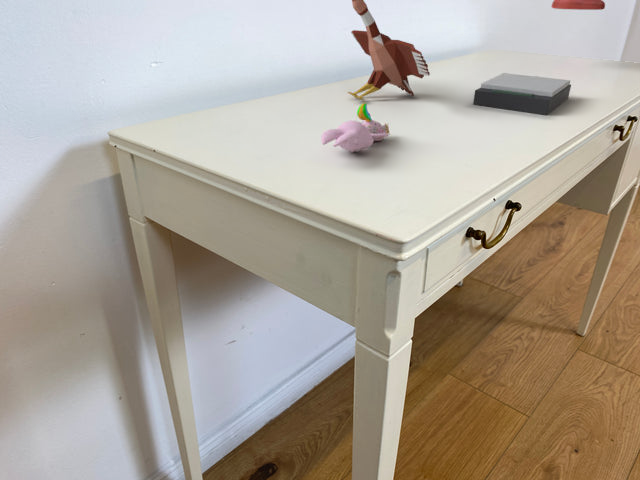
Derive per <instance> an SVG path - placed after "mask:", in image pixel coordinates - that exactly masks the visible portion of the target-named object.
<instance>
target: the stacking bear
mask: <svg viewBox="0 0 640 480" xmlns="http://www.w3.org/2000/svg"><path fill="white" fill-rule="evenodd" d="M551 9H555V10H574V11H575V10H576V11H577V10H579V11H580V10H581V11H592V10H593V11H597V10H600V11H601V10H605V9H606V3H605V1H604V0H553V1H552V4H551Z"/></svg>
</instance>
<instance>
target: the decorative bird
mask: <svg viewBox="0 0 640 480" xmlns="http://www.w3.org/2000/svg"><path fill="white" fill-rule="evenodd" d="M351 3H352V8H353V10H354V11H355V12H356V14H357V15H359V16H360V18H361V20H362V22H363V24H364V27H365V30H366V31H365V30H357V29H356V30H355V29H353V30H351V31H350V33H351V35H352V37H353V38H354V39H355V41H356V42H357V43H358V45H359V46H360V48H361V49H362V51H363V52H364V54H365V55H368V56H369V57H370V60H371V63H372V67H373V70H372V72H371V74H370V76H369V78H368V80H367V82H366V83H365V84H364V85H363V86H361V87H360V88H358V90H356V91H355V92H351V91H347V94H349V95H350V96H353V97H354V98H356V99H358V100H362V101H366V100H365V99H364V97H366V96H368V95H370V94H373V93H376V92H377V91H380V90H381V89H382V88H383V87H384V86H386V85H387V84H390V85H393V86H395V87H397V88H399V89H400V90H401V91H405V93H408V94H409V95H412V97H414V96H415V93H414V91H413V90H412V88H411V87H410V83H409V78H408V77H409V76H414V77H416V78H418V79H422V80H423V78H424V77H425V76H428V77H429V76H430V74H431V73H430V71H429V65H428V63H427V61H426V60H425V59H424V56H423V54H422V51H419V50H418V49H416V47H415V45H414V44H413V43H410V42H408V41H407V42H406V41H403V40H400V39H392V38H391V37H389V35H387V34H384V33H382V32H381V31H380V30H379V27H378V25H377V23H376V20H375V18H374V17H373V15H372V13H371V11H370V10H369V8H368V5H367V3H366V1H365V0H351ZM362 92H363V93H362ZM360 93H362V94H361V95H358V94H360Z"/></svg>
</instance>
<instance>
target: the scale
mask: <svg viewBox="0 0 640 480" xmlns="http://www.w3.org/2000/svg"><path fill="white" fill-rule="evenodd" d="M571 88H572V84H571V79H563V78H562V79H561V78H553V77H544V76H536V75H525V74H516V73H508V72H504V73H501V74H499V75H497V76H495V77H492V78H490V79H488V80H486V81H483V82H482V83H481V84H480V87H479V88H477V89H475V90H474V94H473V102H472V105H473V106H480V107H486V108H494V109H502V110H506V111H507V110H509V111H515V112H522V113H529V114H534V115H535V114H536V115H543V116H548V115H549V114H551V112H553V111H554V110H556V109H557V108H558V107H559V106H560V105H562V104H564V103H565V102H566V101H567V100H568V99H569V97H570V94H571V93H570V92H571Z"/></svg>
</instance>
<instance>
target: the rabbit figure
mask: <svg viewBox="0 0 640 480" xmlns="http://www.w3.org/2000/svg"><path fill="white" fill-rule="evenodd" d="M356 116H357V118H359V120H361V122H360V121H358V120H347V121H345V122H343V123H341V124H340V125H339V126H338V127H337V128H331V129H327V130H325V131H323V132H322V134H321V140H320V141H321V145H323V146H325V145H327V144H329V143H331V142H333V141H334V140H335V141H334V143H333V146H332V147H334V148H336V147H340V148H342V149H344V150H347V151H350V153H354V152H356V153H359V152H360V151H361V150H366V149H368V148H370V147H371V146H372V145H373V144H374V142H381V141H382V140H384V138H388V137H389V135H391V133H390V129H389V128H390V127H389V124H390V123H389V122H387V123H384V124H381V123H380V122H379V121H376V120H373V118H372V117H371V114H370V112H369V111H368V103H367V102H363V103H361V104H360V105H359V106H358V108H357V111H356Z"/></svg>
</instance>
